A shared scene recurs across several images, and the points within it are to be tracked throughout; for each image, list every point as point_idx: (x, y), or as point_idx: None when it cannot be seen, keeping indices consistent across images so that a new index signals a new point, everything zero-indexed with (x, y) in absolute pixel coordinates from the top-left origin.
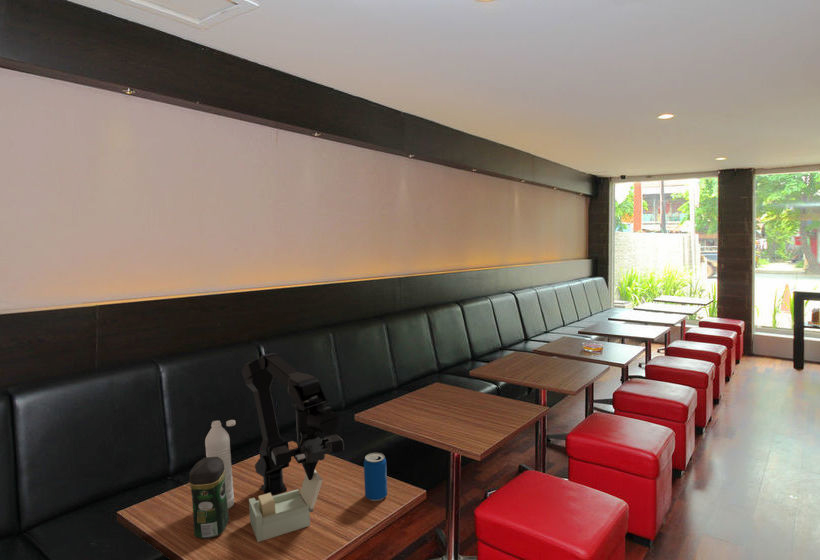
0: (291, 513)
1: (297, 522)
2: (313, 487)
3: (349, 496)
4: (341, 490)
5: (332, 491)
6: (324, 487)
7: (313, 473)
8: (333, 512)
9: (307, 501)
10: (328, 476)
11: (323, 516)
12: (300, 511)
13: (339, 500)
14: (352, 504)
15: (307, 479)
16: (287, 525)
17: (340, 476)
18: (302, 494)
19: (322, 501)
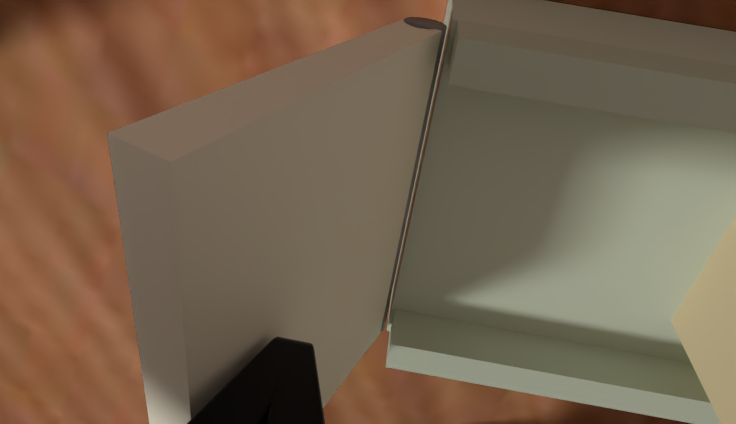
0: (673, 66)
1: (577, 21)
2: (310, 197)
3: (30, 150)
4: (71, 246)
5: None
6: None
7: (211, 399)
8: (202, 36)
9: (405, 157)
10: (115, 402)
11: (295, 38)
12: (561, 44)
13: None
14: (26, 36)
15: None
16: (682, 36)
17: (47, 365)
18: (382, 293)
19: None
